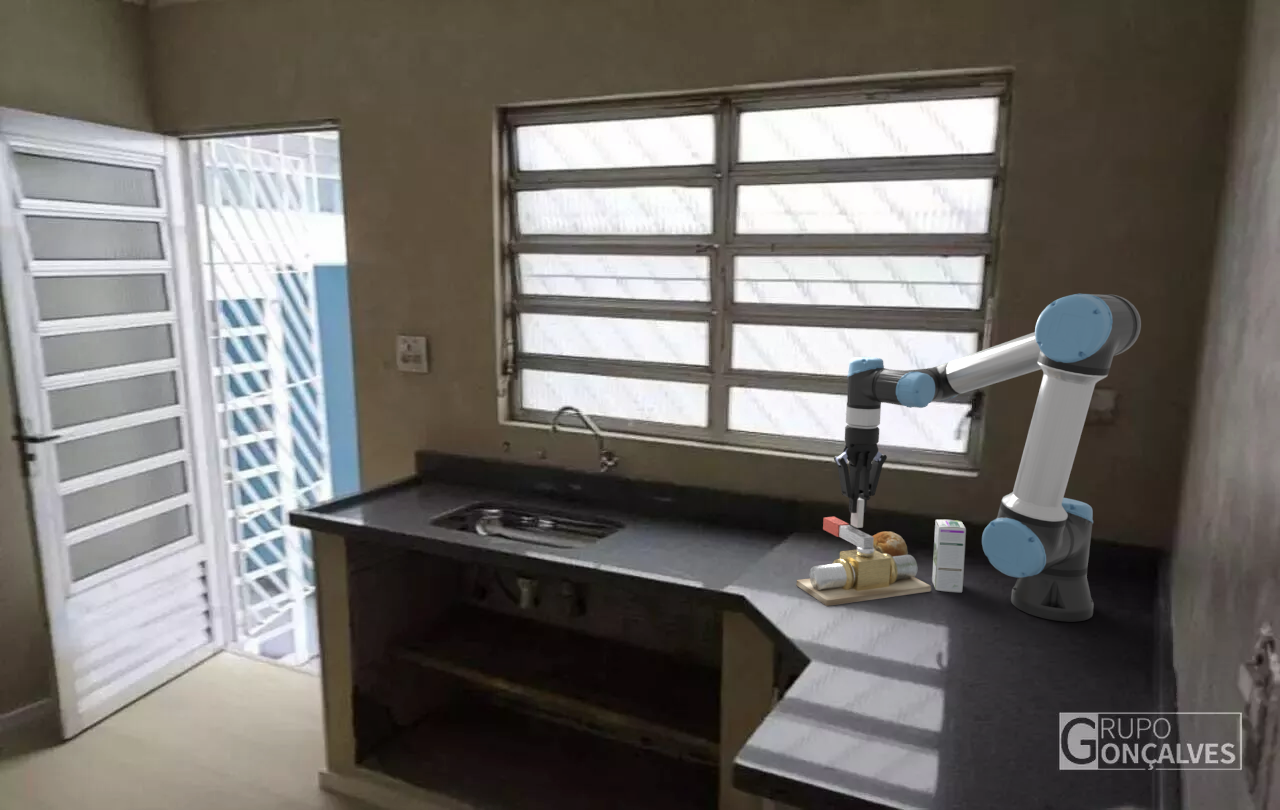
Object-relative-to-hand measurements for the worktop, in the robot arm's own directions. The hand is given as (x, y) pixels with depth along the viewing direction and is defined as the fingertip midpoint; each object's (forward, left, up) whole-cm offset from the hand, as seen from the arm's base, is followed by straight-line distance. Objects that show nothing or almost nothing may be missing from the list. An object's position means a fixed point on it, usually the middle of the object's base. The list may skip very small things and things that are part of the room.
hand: (856, 525), depth 190 cm
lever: (-6, +6, -2) cm, 8 cm away
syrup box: (-17, -12, -10) cm, 23 cm away
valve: (-12, +6, -10) cm, 17 cm away
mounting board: (-12, +6, -10) cm, 17 cm away
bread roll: (+4, -12, -10) cm, 16 cm away
